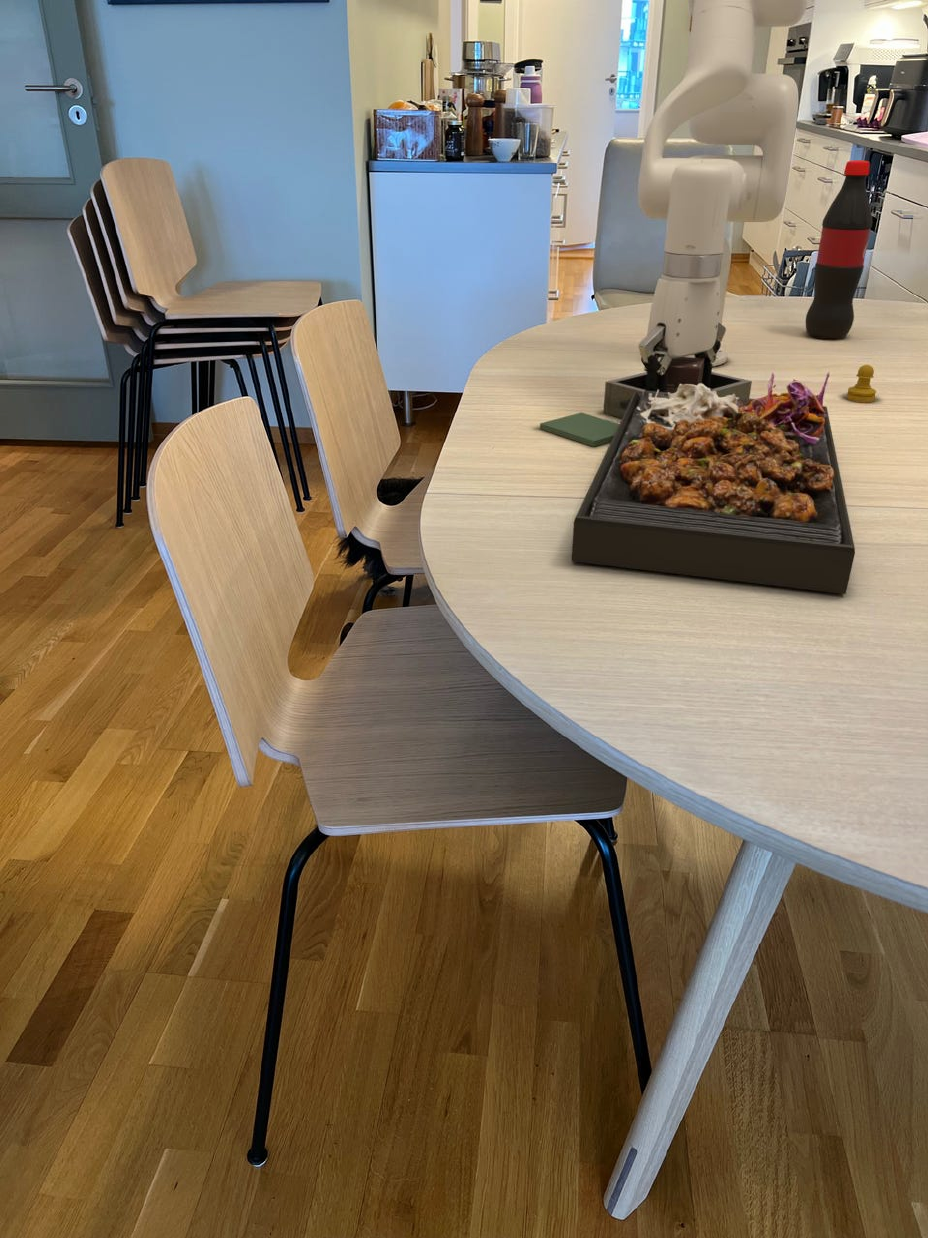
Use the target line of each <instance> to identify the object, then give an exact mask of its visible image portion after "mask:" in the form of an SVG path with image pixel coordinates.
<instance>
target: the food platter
mask: <svg viewBox="0 0 928 1238" xmlns="http://www.w3.org/2000/svg"><path fill="white" fill-rule="evenodd" d="M830 374H831V373H830V371H828V372H827V374H826V377H825V380H824V383H823V386H822V387H821V390H820V393H819V394H814V393H813V392H812V391H811V389H810V388H809V387H808V386H807V385H806V384H805V383H804V382H801V381H800V380H797V379H794V378H793V379H792V381H791V382H790V383H789V384H788V385H786V390H787V392H782V393H780V395H779V394H778V393H776V392H775V393H773V389H775V387H776V386H777V384H774V382H775V381H774V380H775V374H774V373H773V372H772V373H771V377H770V379H769V381H768V382H767V395H765V396H760V397H757V398H749V399H746V398H737V397H735V394H733V395H727V396H726V397H719V396H717V393H716V391H713V392H711V391H710V389H711V388H707V387H706V386H705V385H703V384H701V383H699V384H698V385H697V386H696V385H692V384H684V385H682V384H680V385H679V387H678V388H677V392H675V393H669V392H659V390H657V392H656V391H644V392H642V393H640V392H634V394H633V396H632V399H631V401H630V403H629V405H628V407H627V409H626V411H625V413H624V416H623V418H622V419H621V420H620V421H619V423H618V424H619V426H618V428H617V430H616V433H615V435H614V437H613V439H612V441H611V442H609V446H608V447H607V449H606V452H605V453H604V456H603V458H602V460H601V463H600V464H599V467H598V469H597V470H596V473H595V475H594V477H593V480H592V482H591V484H590V486H589V488H588V490H587V492H586V494H585V496H584V498H583V501H582V503H581V504H580V507H579V509H578V510H577V511H578V512H577V513H576V516H575V518H574V520H573V528H572V529H573V531H572V547H571V562H577V563H584V564H592V565H593V564H594V565H601V566H609V567H618V568H627V569H635V570H644V571H651V572H658V573H659V572H660V573H667V574H676V575H682V576H683V575H685V576H691V577H700V578H708V579H709V578H710V579H716V580H717V579H718V580H726V581H732V582H733V581H734V582H742V583H751V584H759V585H765V586H774V587H775V586H776V587H784V588H790V589H791V588H793V589H799V590H809V591H816V592H825V593H833V594H841V595H846V594H847V590H848V586H849V581H850V576H851V573H852V568H853V564H854V559H855V554H856V549H855V543H854V539H853V531H852V528H851V523H850V517H849V513H848V508H847V503H846V498H845V491H844V488H843V487H844V486H843V483H842V478H841V472H840V467H839V461H838V457H837V452H836V447H835V442H834V437H833V431H832V426H831V421H830V416H829V411H828V407H827V406H825V405H823V404H824V395H825V392H826V387H827V384H828V381H829V378H830Z"/></svg>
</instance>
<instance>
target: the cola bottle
mask: <svg viewBox="0 0 928 1238" xmlns="http://www.w3.org/2000/svg"><path fill="white" fill-rule="evenodd" d="M870 168H871V163H870V161H868V160H862V159H861V160H860V159H858V160H857V159H856V160H848V161H846V164H845V167H844V172H843V177H845V178H844V180H843V183H842V186H841V188H840V190H839V192H838V193H837V195H836V196H835V198H834V199H833V201H832V203H831V204H830V206H829V208H828V210H827V212H826V213H825V216H824V217H823V220H822V223H821V226H822V228H821V232H820V233H821V234H820V239H819V245H818V251H817V257H816V263H814V281H813V282H814V283H813V284H814V285H813V300H812V302H811V304H810V306H809V308H808V310H807V312H806V316H805V330H806V332H807V334H808V335H809V336H811V337H812V338H816V339H820V340H840V339H843V338H844V337H846V336H847V335H848V334H849V333H850V331H851V329H852V327H853V324H854V321H855V312H854V303H853V301H854V298H855V295H856V292H857V289H858V287H859V285H860V284H859V283H860V280H861V277H862V275H863V272H864V268H865V260H866V253H867V249H868V244H869V238H870V233H871V229H872V227H873V215H872V210H871V205H870V200H869V197H868V193H867V180H866V179H867V178H868V177H869V174H870Z"/></svg>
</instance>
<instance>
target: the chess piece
mask: <svg viewBox="0 0 928 1238" xmlns="http://www.w3.org/2000/svg"><path fill="white" fill-rule="evenodd" d="M874 373H875V370H874V368H873V366H872V365H869V364H864V365H861V366H860V367H859V369H858V371H857V374H856V377H857V378H858V379H857V382H856V384H854V385H853V386H849V387H848V388H847V393H846V399H847V400H848V401H852V402H856V403H873V402H875V398H876V394H877V390H876V389H875V388H872V386H871V379H873V378H874V375H875V374H874Z"/></svg>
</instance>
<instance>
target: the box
mask: <svg viewBox="0 0 928 1238" xmlns="http://www.w3.org/2000/svg"><path fill="white" fill-rule="evenodd" d="M662 359H663V358H661V359H660V361H659V363H661V361H662ZM703 368H704V358H691V357H680V358H673V359H672V361H671V363H670V364H669V366H668V368H667V370H666V371H665V373H664V374H668V381H667V390H666V392H669V393H675V392H677V388H678V387H679V385H680V384H682V385H684V384H692V385H696V386H697V385H698V384H699V383H701V384H702V376H703Z"/></svg>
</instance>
